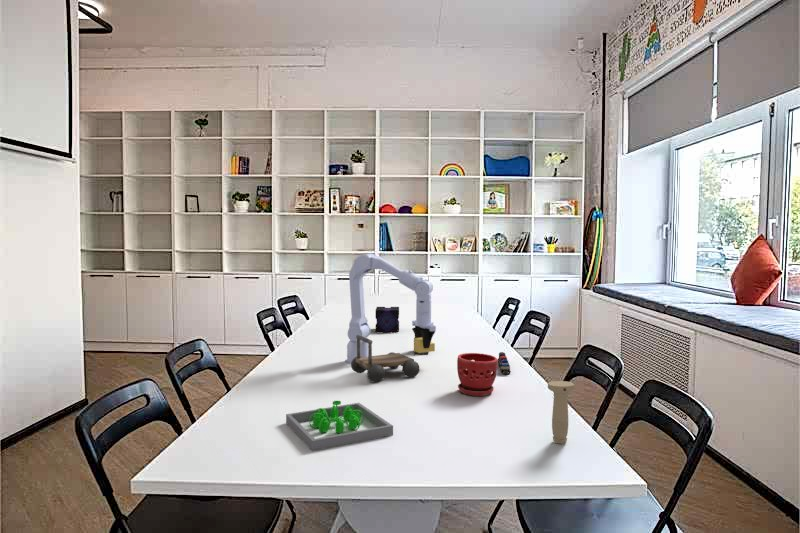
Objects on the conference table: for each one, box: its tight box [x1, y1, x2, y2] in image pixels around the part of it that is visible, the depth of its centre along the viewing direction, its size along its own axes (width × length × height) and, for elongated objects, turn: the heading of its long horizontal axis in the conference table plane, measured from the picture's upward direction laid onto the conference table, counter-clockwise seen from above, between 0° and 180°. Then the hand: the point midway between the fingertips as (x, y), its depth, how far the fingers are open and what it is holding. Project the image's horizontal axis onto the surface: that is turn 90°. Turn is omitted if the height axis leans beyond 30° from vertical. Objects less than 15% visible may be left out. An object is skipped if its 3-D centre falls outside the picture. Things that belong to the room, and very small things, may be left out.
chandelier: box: [308, 400, 365, 434], centre depth 152 cm, size 15×15×7 cm
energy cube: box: [375, 306, 400, 333], centre depth 294 cm, size 12×12×12 cm
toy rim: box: [285, 402, 394, 452], centre depth 150 cm, size 22×22×2 cm
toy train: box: [497, 351, 512, 375], centre depth 216 cm, size 4×22×5 cm, turn 174°
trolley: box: [350, 335, 420, 383], centre depth 205 cm, size 16×20×15 cm
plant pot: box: [456, 352, 499, 397], centre depth 183 cm, size 13×13×12 cm
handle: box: [547, 380, 575, 445], centre depth 140 cm, size 5×6×15 cm
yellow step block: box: [413, 337, 436, 353], centre depth 215 cm, size 4×7×5 cm, turn 118°
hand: (423, 346), depth 215 cm, fingers closed on yellow step block, 4 cm apart
